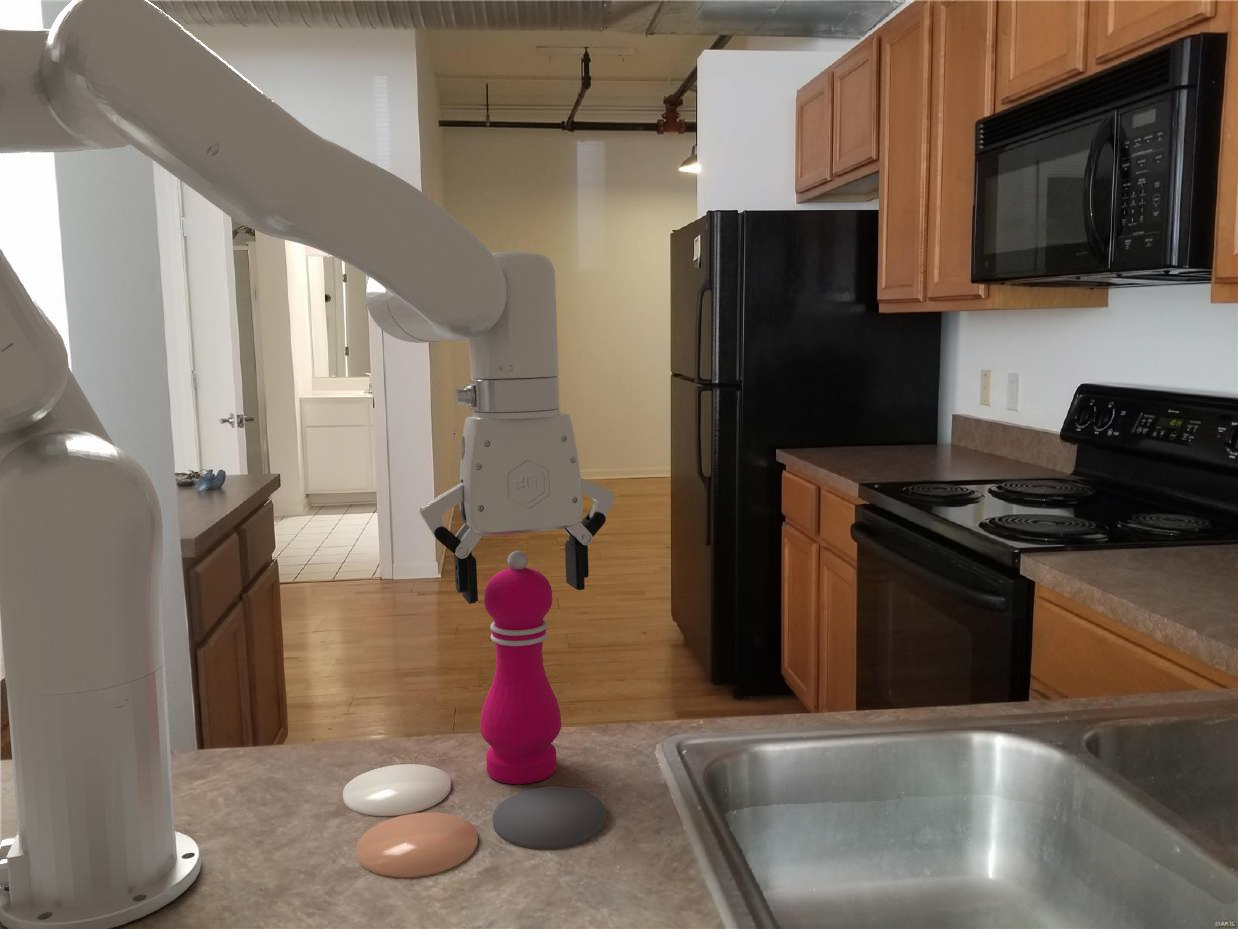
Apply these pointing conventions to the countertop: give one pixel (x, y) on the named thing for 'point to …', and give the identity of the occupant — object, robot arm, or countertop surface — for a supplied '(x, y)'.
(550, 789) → the dark gray oval dome
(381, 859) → the peach oval dome
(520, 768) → the pepper mill
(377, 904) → the countertop surface
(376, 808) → the cream oval dome
